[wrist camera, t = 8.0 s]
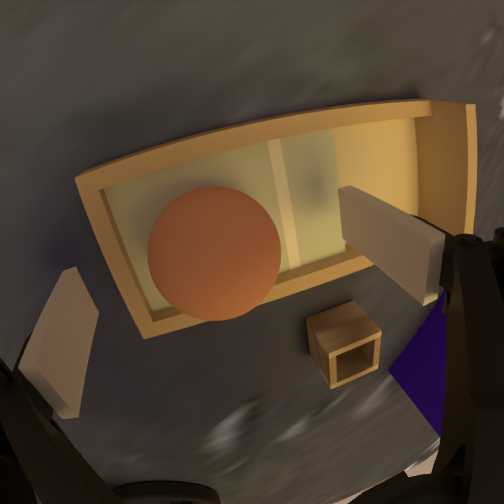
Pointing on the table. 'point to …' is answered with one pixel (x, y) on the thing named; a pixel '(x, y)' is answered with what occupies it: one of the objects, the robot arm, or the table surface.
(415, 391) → the bracket
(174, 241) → the ball
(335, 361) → the open wooden box
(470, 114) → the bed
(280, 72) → the table surface
